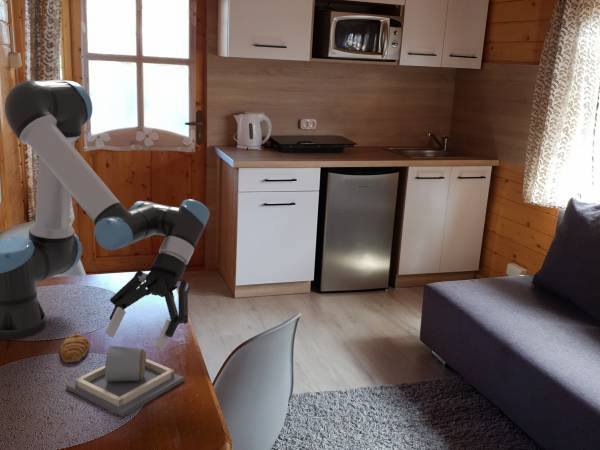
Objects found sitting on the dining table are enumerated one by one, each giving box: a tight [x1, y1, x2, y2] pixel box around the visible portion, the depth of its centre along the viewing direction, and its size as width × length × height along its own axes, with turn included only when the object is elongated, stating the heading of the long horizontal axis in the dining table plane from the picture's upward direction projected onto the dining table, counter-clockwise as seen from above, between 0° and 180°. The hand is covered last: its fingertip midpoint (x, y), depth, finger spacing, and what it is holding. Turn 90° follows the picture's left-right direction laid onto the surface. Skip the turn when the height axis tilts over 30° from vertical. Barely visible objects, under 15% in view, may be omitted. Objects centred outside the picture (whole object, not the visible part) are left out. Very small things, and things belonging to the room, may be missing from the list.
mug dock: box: [65, 358, 185, 418], centre depth 135 cm, size 18×18×2 cm
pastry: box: [59, 334, 91, 364], centre depth 147 cm, size 9×7×4 cm
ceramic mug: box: [105, 345, 147, 382], centre depth 136 cm, size 11×8×8 cm
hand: (133, 342), depth 134 cm, fingers open, 13 cm apart
